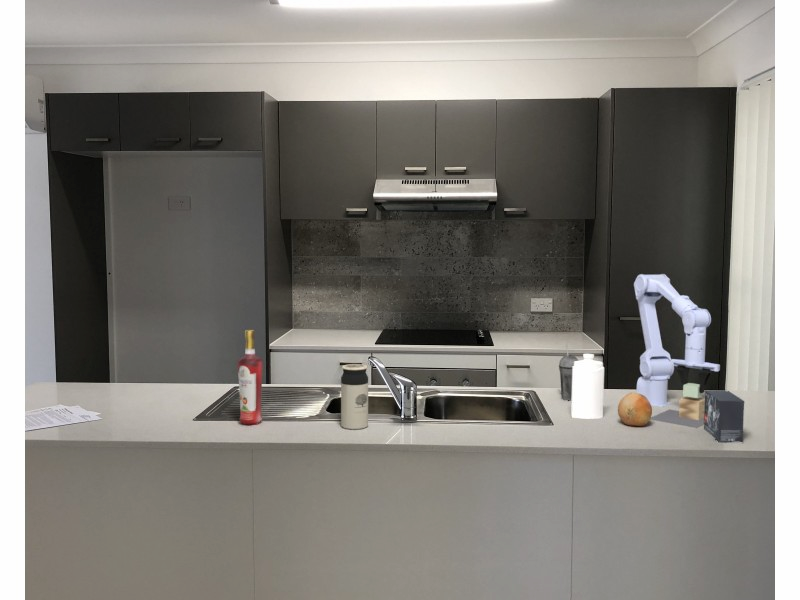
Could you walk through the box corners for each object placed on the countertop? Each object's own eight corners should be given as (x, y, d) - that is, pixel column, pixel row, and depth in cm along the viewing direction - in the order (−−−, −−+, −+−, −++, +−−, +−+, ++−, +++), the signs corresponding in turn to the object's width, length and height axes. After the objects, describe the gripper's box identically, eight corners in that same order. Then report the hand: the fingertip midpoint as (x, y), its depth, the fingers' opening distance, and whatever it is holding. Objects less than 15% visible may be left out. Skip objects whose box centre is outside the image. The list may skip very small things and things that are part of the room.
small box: (702, 429, 210) (704, 389, 209) (726, 430, 209) (728, 390, 208) (717, 442, 197) (719, 399, 195) (743, 443, 196) (745, 400, 195)
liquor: (233, 424, 212) (232, 331, 209) (247, 419, 218) (246, 328, 216) (254, 427, 209) (253, 332, 206) (268, 421, 216) (267, 329, 213)
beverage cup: (581, 401, 244) (583, 344, 242) (560, 401, 244) (561, 343, 242) (576, 397, 251) (578, 340, 250) (555, 396, 251) (557, 340, 250)
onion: (616, 428, 210) (617, 395, 209) (618, 420, 219) (619, 388, 218) (651, 432, 207) (652, 398, 206) (651, 423, 216) (652, 391, 215)
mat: (647, 420, 220) (647, 418, 220) (669, 410, 233) (669, 409, 232) (696, 429, 210) (697, 427, 210) (717, 418, 222) (717, 417, 222)
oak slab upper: (679, 407, 223) (679, 399, 222) (686, 404, 227) (687, 396, 227) (698, 411, 219) (699, 402, 218) (705, 407, 223) (706, 399, 223)
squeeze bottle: (569, 415, 225) (572, 419, 220) (571, 352, 223) (574, 355, 218) (600, 416, 225) (604, 420, 220) (602, 353, 223) (606, 356, 218)
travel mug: (337, 424, 213) (337, 364, 211) (362, 421, 216) (362, 363, 214) (346, 431, 206) (346, 369, 204) (372, 428, 209) (372, 367, 207)
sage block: (682, 395, 222) (683, 384, 222) (688, 393, 226) (688, 382, 225) (697, 398, 219) (698, 387, 219) (703, 395, 222) (703, 384, 222)
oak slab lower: (678, 416, 223) (679, 407, 223) (686, 413, 227) (686, 404, 227) (698, 420, 219) (698, 411, 219) (705, 416, 223) (705, 407, 223)
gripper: (666, 347, 223) (665, 389, 224) (714, 352, 213) (712, 396, 215) (675, 344, 228) (674, 386, 230) (722, 349, 219) (720, 393, 220)
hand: (693, 391), depth 222 cm, fingers closed on sage block, 4 cm apart
